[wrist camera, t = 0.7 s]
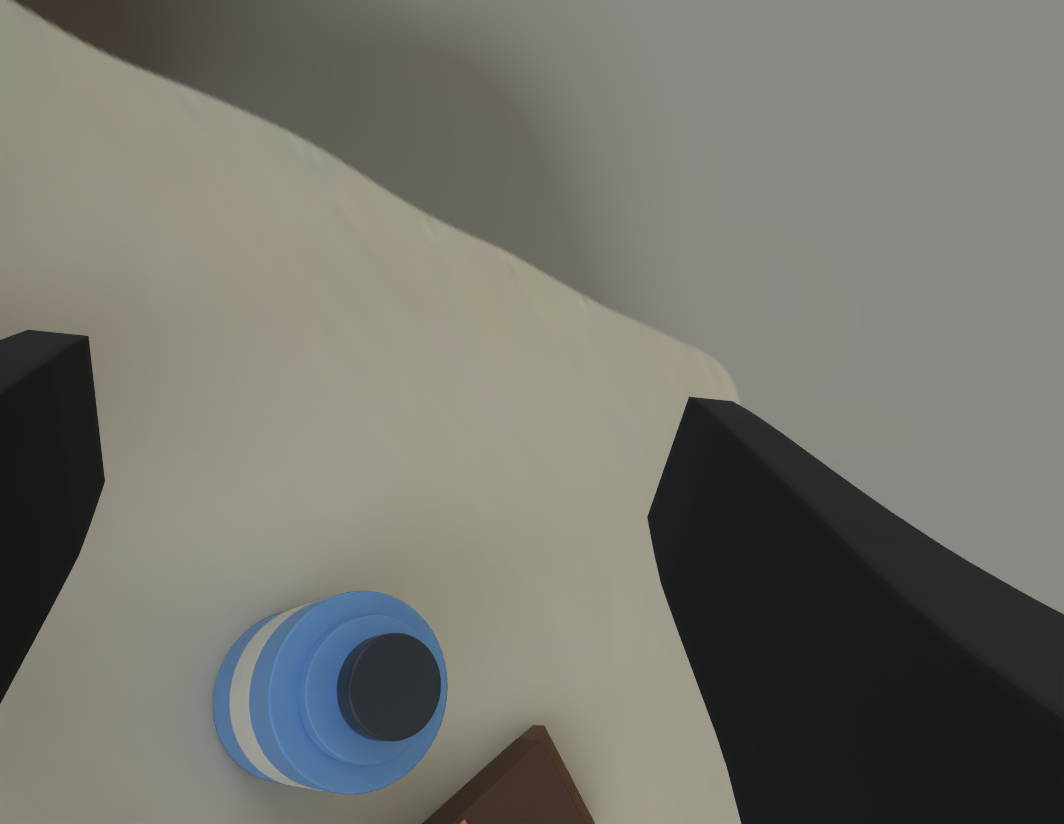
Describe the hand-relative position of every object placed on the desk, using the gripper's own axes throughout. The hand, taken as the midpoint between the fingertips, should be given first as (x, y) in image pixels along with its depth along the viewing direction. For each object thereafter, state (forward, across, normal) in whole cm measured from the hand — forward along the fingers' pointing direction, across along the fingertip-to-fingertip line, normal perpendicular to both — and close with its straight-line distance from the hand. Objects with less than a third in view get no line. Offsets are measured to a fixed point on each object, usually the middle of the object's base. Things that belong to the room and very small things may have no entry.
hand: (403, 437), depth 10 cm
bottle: (+8, +2, +16) cm, 18 cm away
